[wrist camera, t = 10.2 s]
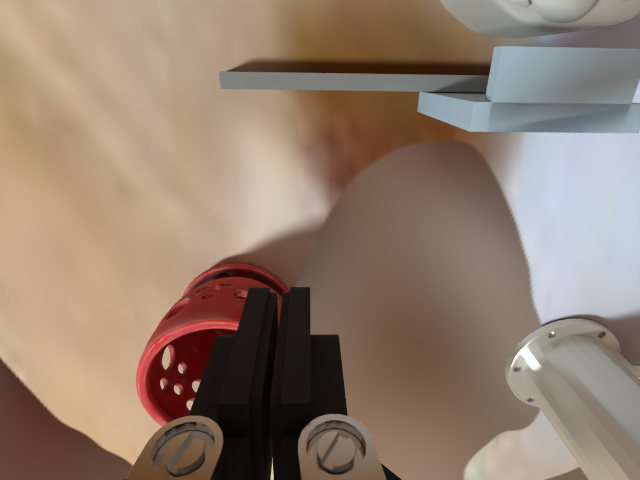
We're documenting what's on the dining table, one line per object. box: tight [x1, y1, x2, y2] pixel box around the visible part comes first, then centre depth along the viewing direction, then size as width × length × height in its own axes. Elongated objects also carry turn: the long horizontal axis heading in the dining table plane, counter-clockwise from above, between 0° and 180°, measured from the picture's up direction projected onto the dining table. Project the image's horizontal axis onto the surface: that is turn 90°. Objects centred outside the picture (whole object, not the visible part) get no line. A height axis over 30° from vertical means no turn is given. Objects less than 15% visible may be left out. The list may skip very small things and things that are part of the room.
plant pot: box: [136, 263, 290, 427], centre depth 34 cm, size 13×13×12 cm
